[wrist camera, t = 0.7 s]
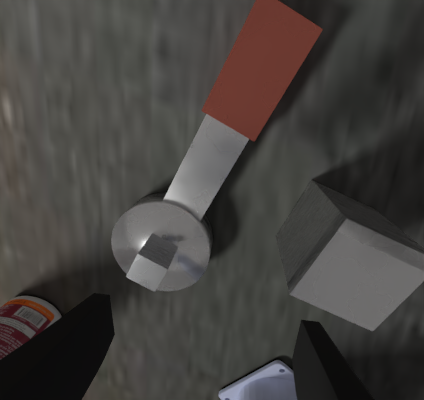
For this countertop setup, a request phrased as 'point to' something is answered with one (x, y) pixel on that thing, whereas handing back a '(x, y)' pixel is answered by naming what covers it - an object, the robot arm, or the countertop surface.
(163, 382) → the countertop surface
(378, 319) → the grey block
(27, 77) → the countertop surface
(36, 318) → the pill bottle
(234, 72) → the ratchet
